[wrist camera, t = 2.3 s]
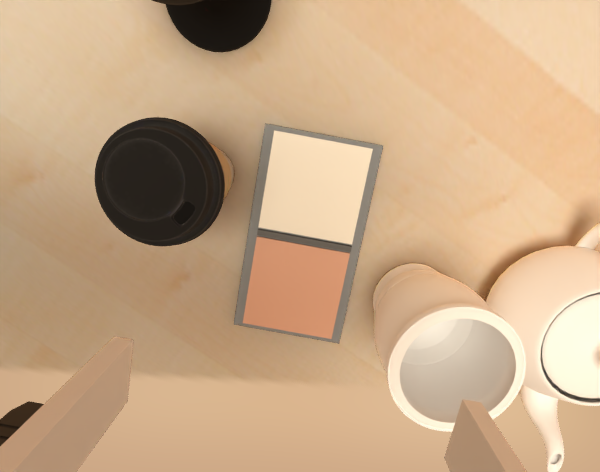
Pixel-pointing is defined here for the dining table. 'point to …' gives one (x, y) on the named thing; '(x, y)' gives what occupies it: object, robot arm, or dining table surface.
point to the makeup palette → (305, 232)
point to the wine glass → (218, 21)
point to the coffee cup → (161, 181)
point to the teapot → (555, 330)
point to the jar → (443, 347)
